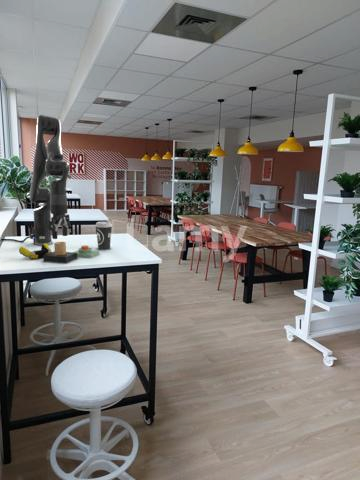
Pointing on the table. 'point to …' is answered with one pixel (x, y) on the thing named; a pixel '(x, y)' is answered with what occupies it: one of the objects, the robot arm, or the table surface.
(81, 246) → the button
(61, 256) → the panel
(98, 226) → the coffee cup
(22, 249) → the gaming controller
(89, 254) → the button box
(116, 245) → the table surface
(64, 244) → the knob
